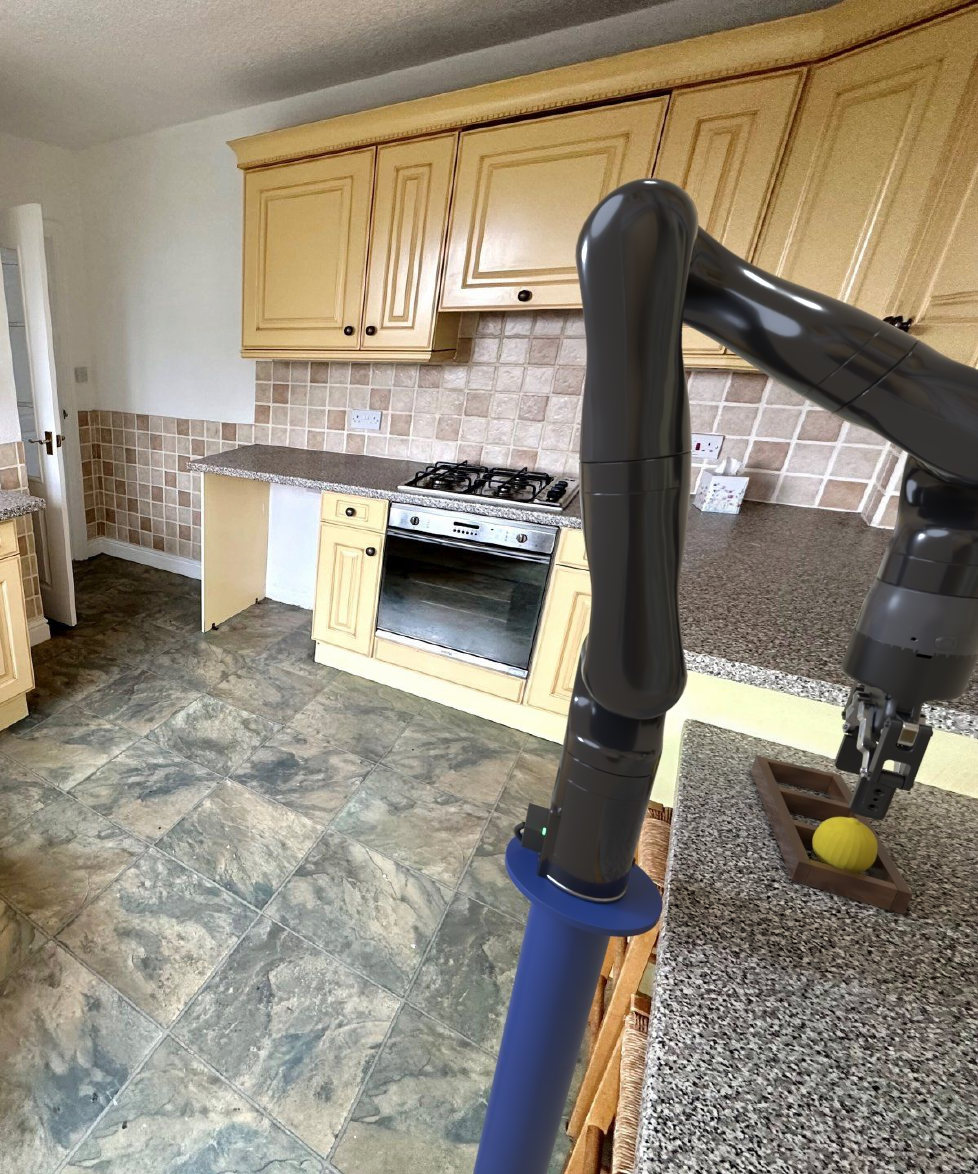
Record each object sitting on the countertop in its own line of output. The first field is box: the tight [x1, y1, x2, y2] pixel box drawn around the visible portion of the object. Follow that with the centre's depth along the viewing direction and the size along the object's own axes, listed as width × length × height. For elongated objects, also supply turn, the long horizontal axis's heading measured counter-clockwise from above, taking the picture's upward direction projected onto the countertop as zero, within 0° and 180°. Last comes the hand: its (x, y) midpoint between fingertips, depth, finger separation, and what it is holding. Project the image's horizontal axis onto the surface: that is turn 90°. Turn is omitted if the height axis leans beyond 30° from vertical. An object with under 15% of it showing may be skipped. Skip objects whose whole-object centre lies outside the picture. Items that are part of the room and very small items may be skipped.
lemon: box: [812, 817, 877, 874], centre depth 78 cm, size 6×6×8 cm
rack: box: [750, 754, 914, 915], centre depth 86 cm, size 10×27×3 cm, turn 148°
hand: (856, 791), depth 60 cm, fingers open, 8 cm apart
